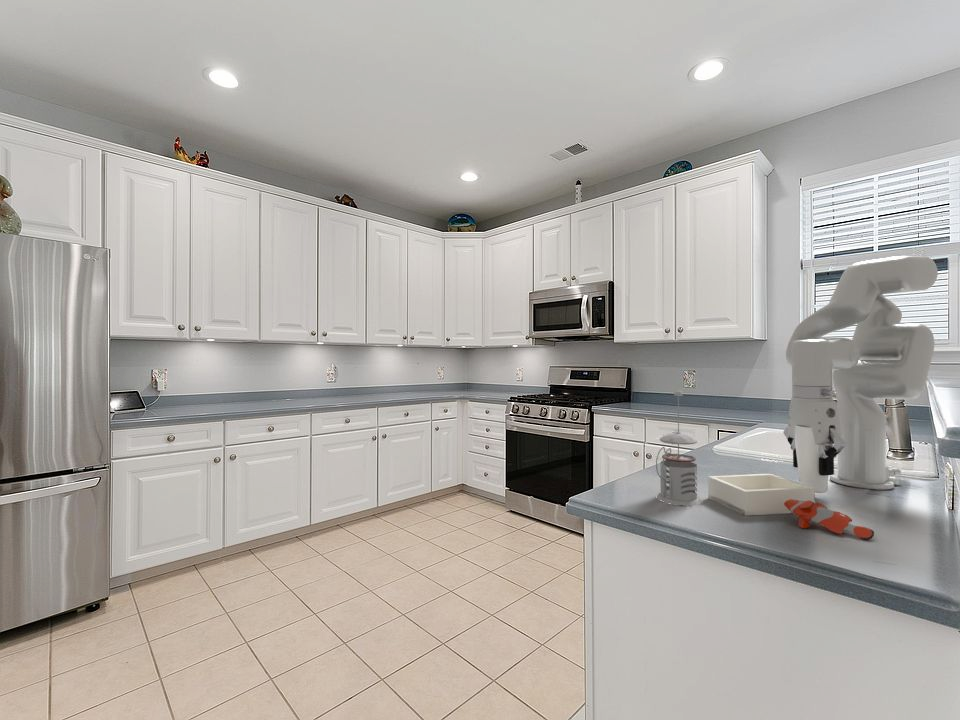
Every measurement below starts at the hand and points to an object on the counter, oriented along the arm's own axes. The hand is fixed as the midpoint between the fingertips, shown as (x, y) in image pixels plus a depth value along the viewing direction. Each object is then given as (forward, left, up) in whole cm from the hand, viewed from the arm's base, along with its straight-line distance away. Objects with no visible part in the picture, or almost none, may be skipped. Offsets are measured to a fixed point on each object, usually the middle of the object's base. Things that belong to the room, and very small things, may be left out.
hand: (812, 470), depth 106 cm
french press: (+32, -4, -7) cm, 33 cm away
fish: (+14, +17, -7) cm, 23 cm away
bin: (+16, +2, -6) cm, 17 cm away
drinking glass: (0, 0, -5) cm, 5 cm away
